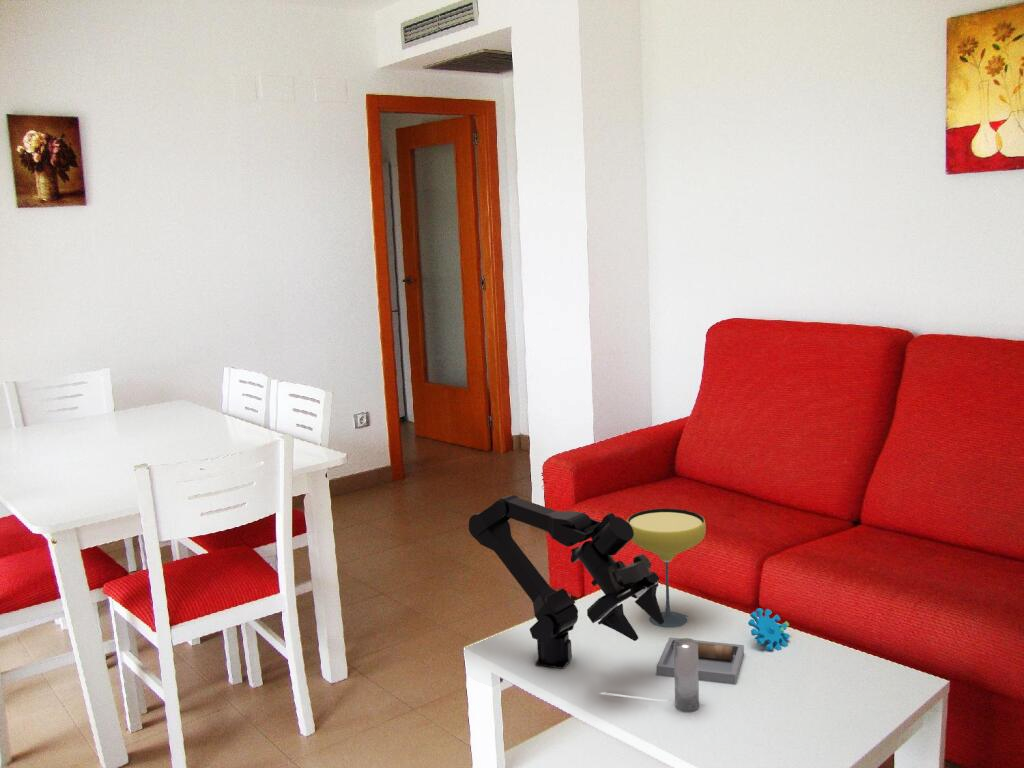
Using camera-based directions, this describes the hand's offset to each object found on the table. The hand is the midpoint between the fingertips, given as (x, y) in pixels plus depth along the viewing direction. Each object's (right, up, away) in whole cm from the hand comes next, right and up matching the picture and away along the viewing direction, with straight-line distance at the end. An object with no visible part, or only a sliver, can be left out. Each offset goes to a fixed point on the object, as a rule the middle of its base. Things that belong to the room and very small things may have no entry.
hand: (649, 631), depth 188 cm
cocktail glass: (+9, -7, +36) cm, 38 cm away
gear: (+30, -9, +21) cm, 37 cm away
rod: (+16, -10, +15) cm, 24 cm away
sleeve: (+7, -14, -3) cm, 16 cm away
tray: (+13, -11, +13) cm, 21 cm away
